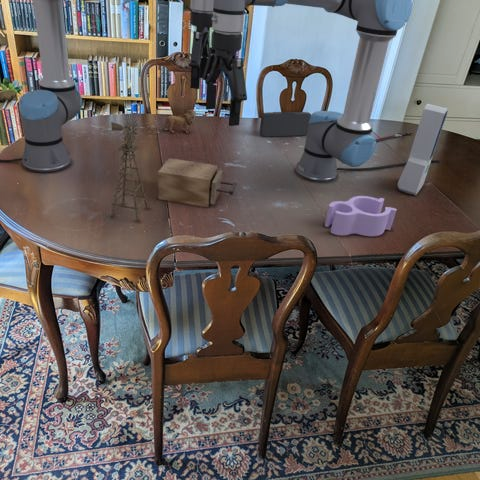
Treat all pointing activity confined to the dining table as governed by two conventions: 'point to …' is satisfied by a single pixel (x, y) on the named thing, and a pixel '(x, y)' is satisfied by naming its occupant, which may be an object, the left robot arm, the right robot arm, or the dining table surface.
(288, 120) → the handheld gaming console
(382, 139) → the sword
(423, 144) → the electronic device
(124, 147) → the miniature windmill
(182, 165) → the cabinet
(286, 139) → the dining table surface
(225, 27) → the right robot arm
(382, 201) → the clip
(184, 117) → the lion figurine
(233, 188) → the drawer
